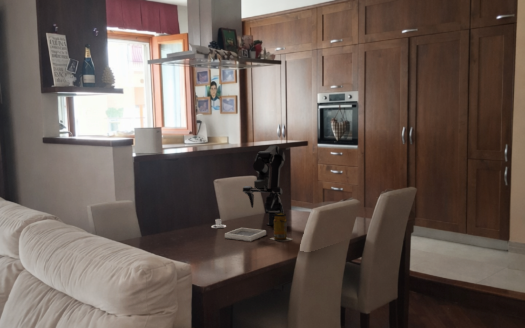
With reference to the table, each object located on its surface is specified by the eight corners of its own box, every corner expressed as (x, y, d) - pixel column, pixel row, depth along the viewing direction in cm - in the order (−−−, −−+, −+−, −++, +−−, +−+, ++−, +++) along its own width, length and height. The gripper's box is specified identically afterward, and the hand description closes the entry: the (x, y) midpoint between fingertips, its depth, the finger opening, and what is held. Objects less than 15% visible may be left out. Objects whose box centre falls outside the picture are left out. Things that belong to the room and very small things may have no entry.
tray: (241, 231, 256) (241, 227, 256) (266, 234, 249) (266, 230, 249) (224, 238, 244) (224, 233, 244) (250, 241, 236) (250, 236, 236)
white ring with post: (223, 229, 265) (223, 221, 264) (208, 228, 266) (208, 221, 266) (228, 225, 273) (227, 218, 273) (213, 225, 275) (213, 218, 275)
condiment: (281, 236, 245) (280, 211, 244) (293, 239, 239) (292, 214, 238) (269, 239, 241) (269, 213, 240) (281, 242, 234) (281, 216, 233)
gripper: (240, 172, 245) (238, 204, 241) (278, 172, 240) (276, 205, 236) (247, 177, 255) (244, 208, 251) (283, 178, 250) (281, 209, 247)
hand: (261, 207), depth 246 cm, fingers open, 9 cm apart
